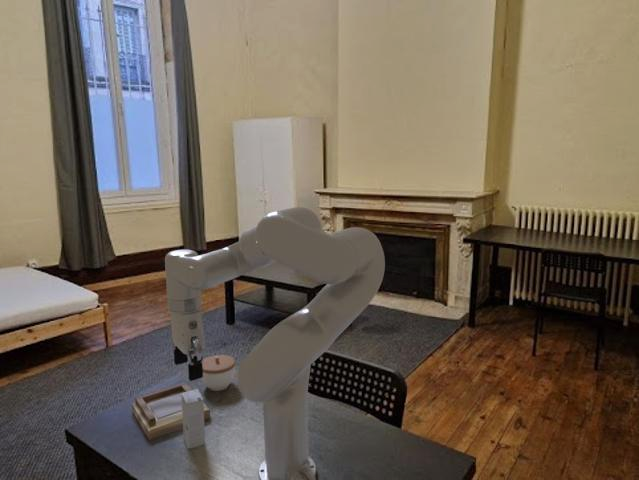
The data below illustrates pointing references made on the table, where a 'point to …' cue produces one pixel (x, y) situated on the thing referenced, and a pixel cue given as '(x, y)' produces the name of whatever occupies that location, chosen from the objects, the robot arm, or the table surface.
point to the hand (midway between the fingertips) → (188, 370)
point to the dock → (162, 410)
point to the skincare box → (193, 418)
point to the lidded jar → (218, 371)
